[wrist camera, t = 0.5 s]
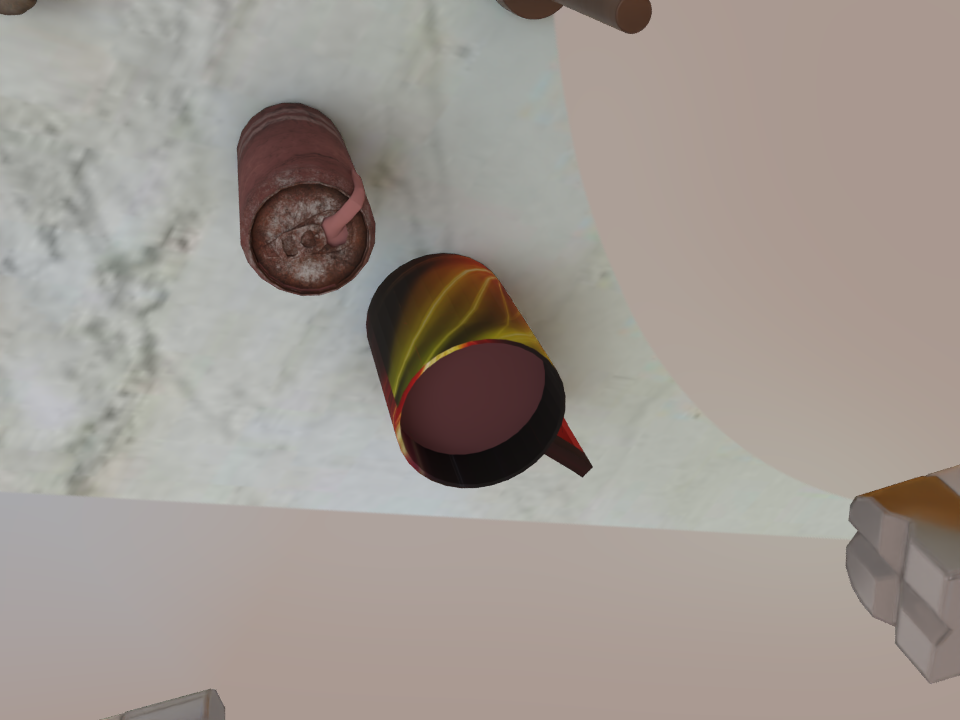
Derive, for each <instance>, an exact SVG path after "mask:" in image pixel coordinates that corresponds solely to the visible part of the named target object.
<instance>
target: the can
mask: <svg viewBox="0 0 960 720" xmlns="http://www.w3.org/2000/svg"><path fill="white" fill-rule="evenodd" d="M237 159H238V186H239V213H240V239H241V246H242V249H243V251H244V254H245V256H246V259H247V261H248V263H249V264H250V266H251V267H252V268H253V269H254V270H255V271H256V273H257V274H258V275H259V276H260V277H261V278H262V279H263V280H265V281H266V282H268V283H270V284H271V285H273V286H274V287H276V288H278V289H280V290H283V291H286V292H289V293H293V294H297V295H300V296H311V295H323V294H326V293H329V292H332V291H335V290H338V289H339V288H341V287H342V286H344V285H345V284H347V283H348V282H350V281H351V280H353V279H354V278H355V277H356V276H357V275H358V273H359V272H360V271H361V270H362V268H363V267H364V266H365V265H366V263H367V262H368V260H369V257H370V255H371V252H372V249H373V247H374V244H375V221H374V217H373V214H372V211H371V208H370V204H369V202H368V200H367V197H366V195H365V190H364V187H363V183H362V180H361V177H360V176H359V175H358V174H357V173H356V170H355V168H354V166H353V163H352V161H351V158H350V156H349V153H348V151H347V149H346V146H345V144H344V141H343V139H342V136H341V134H340V132H339V131H338V130H337V128H336V127H335V125H334V124H333V122H332V121H331V120H330V119H329V118H328V117H326V116H325V115H324V114H322V113H321V112H320V111H318V110H317V109H314V108H312V107H309V106H306V105H303V104H300V103H281V104H277V105H274V106H270V107H267V108H265V109H263V110H262V111H261V112H259V113H258V114H256V115H255V116H253V117H252V118H251V119H250V121H249V122H248V124H247V125H246V126H245V128H244V129H243V130H242V133H241V136H240V139H239V143H238V146H237Z"/></svg>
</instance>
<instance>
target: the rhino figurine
mask: <svg viewBox="0 0 960 720" xmlns="http://www.w3.org/2000/svg"><path fill="white" fill-rule="evenodd" d="M36 2H37V0H0V14H4V15H20V14H23V13H25V12H26V11H27V10H29V9H30V8H32V7H33V6H34V5H35V4H36Z"/></svg>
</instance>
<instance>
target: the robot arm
mask: <svg viewBox="0 0 960 720" xmlns="http://www.w3.org/2000/svg"><path fill="white" fill-rule="evenodd" d="M849 522H850V523H851V524H852V525H853V526H854V527H855V528H856V529H857V530H858V531H857V533H856V534H855V536H854V537H853V538H852V540H851V541H850V542H849V544H848V545H847V547H846V569H847V572H848V576H849V579H850V582H851V586H852V588H853V590H854V592H855V593H856V595H857V597H858V599H859V600H860V602H861V603H862V605H863V606H864V607H865V608H866V609H867V611H868V612H869V613H870V614H871V615H872V617H874V618H876V619H879V620H881V621H883V622H885V623H888V624H890V625H892V626H895V644H896V645H897V646H898V647H899V649H900V650H901V651H902V652H903V653H904V654H905V656H906V657H907V658H908V659H909V660H910V661H911V663H912V664H913V665H914V666H915V667H916V668H917V669H918V671H919V672H920V673H921V674H922V675H923V676H924V678H926V680H927V681H928V682H929V683H930V684H932V683H935V682H939V681H942V680H945V679H949V678H952V677H956V676H959V675H960V465H957V466H954V467H950V468H947V469H944V470H941V471H937V472H934V473H931V474H928V475H926V476H921V477H917V478H914V479H911V480H907V481H904V482H901V483H898V484H894V485H891V486H888V487H885V488H882V489H879V490H875V491H872V492H869V493H865V494H862V495H859V496H856V497H855V499H854V500H853V502H852V503H851V505H850V512H849ZM100 720H225V707H224V705H223V703H222V701H221V699H220V697H219V695H218V693H217V691H216V690H215V689H208V690H205V691H201V692H197V693H193V694H190V695H186V696H182V697H179V698H175V699H171V700H168V701H164V702H160V703H157V704H153V705H149V706H146V707H142V708H138V709H134V710H130V711H127V712H125V713H123V714H119V715H115V716H111V717H108V718H104V719H100Z"/></svg>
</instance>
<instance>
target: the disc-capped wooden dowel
mask: <svg viewBox="0 0 960 720" xmlns="http://www.w3.org/2000/svg"><path fill="white" fill-rule="evenodd" d="M496 1H497V2H498V3H499V4H500V5H501V6H502V7H504V8H505V9H507V10H509V11H511V12H512V13H514V14H516V15H518V16H520V17H523V18H526V19H542V18H546V17H548V16H550V15H552V14H554V13H555V12H557V11H558V10H559V9H560V8H561V7H562V6H563V5H564V6H566V7H568V8H570V9H573V10H575V11H577V12H580V13H582V14H584V15H586V16H589V17H591V18H593V19H595V20H598V21H600V22H602V23H604V24H607V25H609V26H611V27H614V28H616V29H618V30H621V31H623V32H625V33H628V34H634V33H637V32H640V31H641V30H643V29H644V28H645V27H646V25H647V24H648V23H649V21H650V18H651V14H652V8H651V3H650V1H649V0H496Z"/></svg>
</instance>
